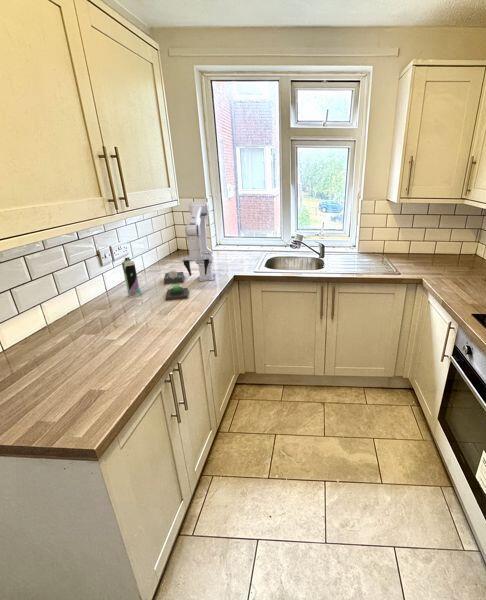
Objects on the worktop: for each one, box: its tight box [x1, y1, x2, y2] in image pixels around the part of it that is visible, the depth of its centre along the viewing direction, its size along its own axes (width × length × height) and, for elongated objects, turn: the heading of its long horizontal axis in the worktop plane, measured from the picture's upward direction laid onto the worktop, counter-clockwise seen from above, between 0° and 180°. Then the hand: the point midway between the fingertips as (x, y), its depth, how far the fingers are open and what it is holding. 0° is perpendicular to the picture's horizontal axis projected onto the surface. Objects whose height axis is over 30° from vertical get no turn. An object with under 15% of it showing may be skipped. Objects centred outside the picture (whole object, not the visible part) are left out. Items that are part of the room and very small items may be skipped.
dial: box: [167, 269, 178, 278], centre depth 180 cm, size 4×4×4 cm
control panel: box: [163, 271, 185, 285], centre depth 184 cm, size 13×10×3 cm
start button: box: [171, 285, 181, 291], centre depth 161 cm, size 4×4×2 cm
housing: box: [165, 286, 189, 301], centre depth 162 cm, size 12×10×4 cm
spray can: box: [121, 256, 142, 298], centre depth 158 cm, size 6×6×20 cm
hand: (198, 274), depth 164 cm, fingers open, 7 cm apart
